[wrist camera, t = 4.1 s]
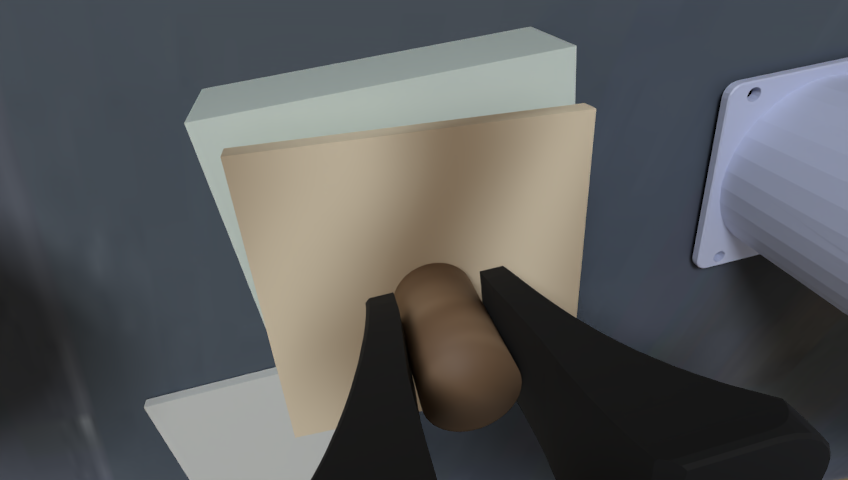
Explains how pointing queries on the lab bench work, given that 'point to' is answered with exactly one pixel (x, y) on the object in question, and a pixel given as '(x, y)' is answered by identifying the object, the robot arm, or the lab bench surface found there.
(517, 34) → the dish
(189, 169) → the lab bench surface
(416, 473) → the robot arm
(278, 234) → the lid
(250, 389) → the mat
